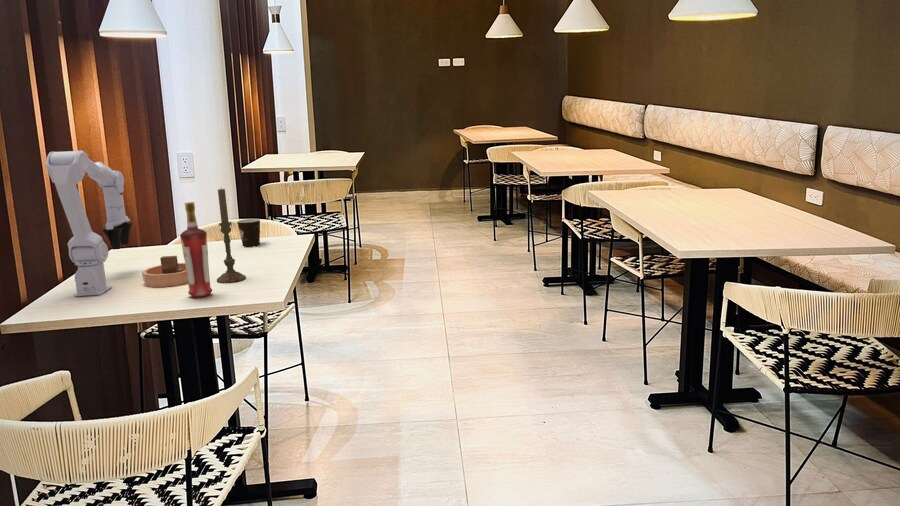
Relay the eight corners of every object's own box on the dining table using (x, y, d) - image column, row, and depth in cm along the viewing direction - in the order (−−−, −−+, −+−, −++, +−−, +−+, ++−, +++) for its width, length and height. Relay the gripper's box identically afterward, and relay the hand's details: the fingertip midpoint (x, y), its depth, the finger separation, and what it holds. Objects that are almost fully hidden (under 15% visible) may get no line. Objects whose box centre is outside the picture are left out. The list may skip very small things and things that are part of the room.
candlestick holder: (216, 284, 229) (205, 189, 222) (217, 277, 237) (206, 186, 231) (246, 281, 231) (236, 187, 225) (246, 274, 240) (236, 184, 233)
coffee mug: (239, 244, 290) (237, 219, 288) (261, 242, 292) (259, 217, 290) (240, 250, 279) (237, 224, 277) (263, 247, 282) (261, 222, 279)
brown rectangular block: (177, 278, 235) (174, 257, 233) (163, 279, 235) (160, 258, 233) (179, 276, 237) (176, 255, 236) (165, 277, 237) (162, 256, 235)
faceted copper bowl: (189, 285, 229) (187, 273, 228) (137, 288, 228) (135, 276, 227) (202, 273, 244) (201, 261, 243) (154, 276, 243) (152, 264, 243)
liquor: (186, 294, 218) (175, 202, 212) (212, 291, 221) (201, 200, 215) (188, 300, 212) (177, 205, 206) (215, 296, 215) (204, 203, 209)
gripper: (119, 209, 235) (125, 250, 238) (135, 202, 249) (140, 241, 252) (96, 210, 234) (102, 251, 237) (113, 203, 248) (119, 242, 251)
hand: (120, 246), depth 245 cm, fingers open, 7 cm apart
